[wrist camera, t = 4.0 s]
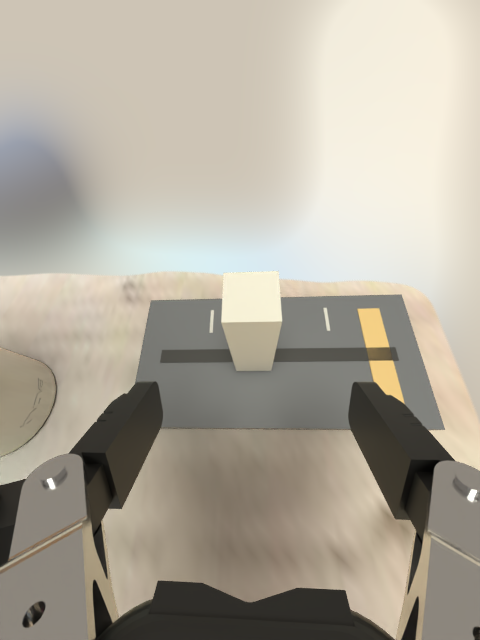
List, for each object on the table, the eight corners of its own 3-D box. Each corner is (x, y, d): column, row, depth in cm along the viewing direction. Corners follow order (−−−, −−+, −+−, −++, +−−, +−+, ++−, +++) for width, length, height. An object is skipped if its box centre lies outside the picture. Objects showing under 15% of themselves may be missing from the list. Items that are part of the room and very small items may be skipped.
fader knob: (235, 371, 21) (220, 322, 12) (236, 338, 22) (222, 273, 13) (271, 370, 21) (283, 321, 12) (270, 338, 22) (279, 271, 13)
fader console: (140, 428, 22) (126, 427, 20) (159, 311, 27) (150, 300, 25) (424, 430, 21) (445, 429, 18) (388, 306, 26) (401, 294, 24)
